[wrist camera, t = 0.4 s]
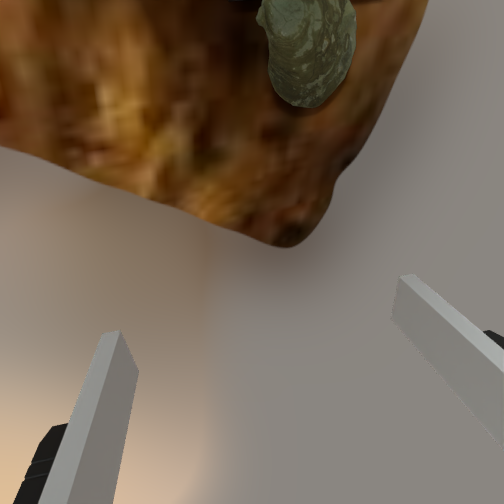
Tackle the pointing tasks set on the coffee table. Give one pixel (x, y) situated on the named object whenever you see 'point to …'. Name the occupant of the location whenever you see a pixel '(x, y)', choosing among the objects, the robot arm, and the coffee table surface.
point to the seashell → (308, 47)
